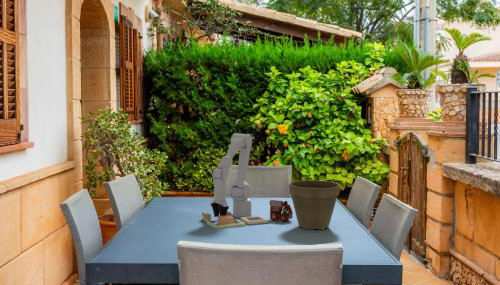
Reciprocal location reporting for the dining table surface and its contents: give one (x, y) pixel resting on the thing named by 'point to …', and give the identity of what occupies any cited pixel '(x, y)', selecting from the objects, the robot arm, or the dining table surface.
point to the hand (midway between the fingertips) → (219, 218)
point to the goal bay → (227, 225)
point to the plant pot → (314, 202)
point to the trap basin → (254, 220)
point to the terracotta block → (225, 220)
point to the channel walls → (207, 216)
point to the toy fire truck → (280, 210)
